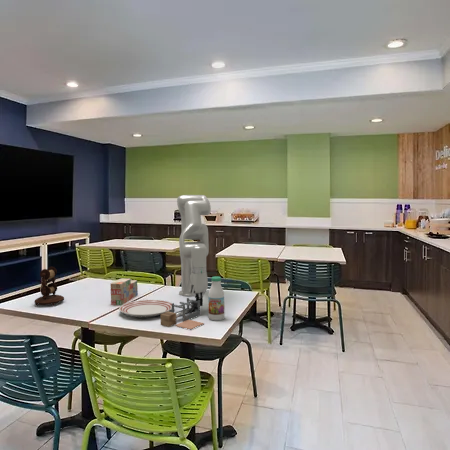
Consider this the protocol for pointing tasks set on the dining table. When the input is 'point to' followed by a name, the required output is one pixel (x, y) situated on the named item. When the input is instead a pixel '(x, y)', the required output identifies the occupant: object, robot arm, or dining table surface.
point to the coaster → (189, 324)
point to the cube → (168, 319)
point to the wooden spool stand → (48, 288)
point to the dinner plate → (146, 308)
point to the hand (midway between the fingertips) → (199, 305)
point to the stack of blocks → (123, 291)
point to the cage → (191, 315)
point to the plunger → (188, 310)
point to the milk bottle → (216, 300)
